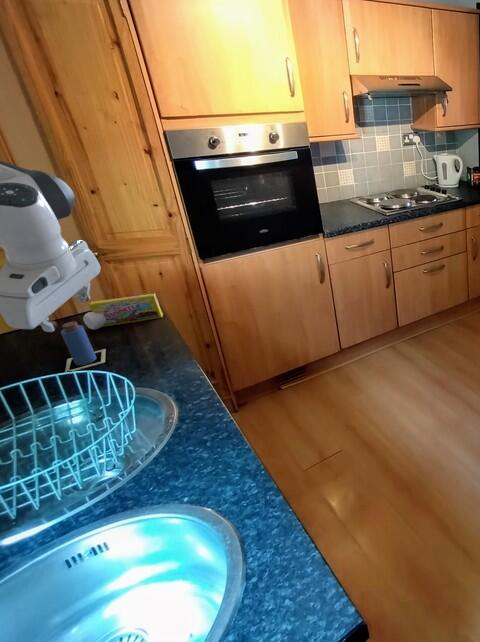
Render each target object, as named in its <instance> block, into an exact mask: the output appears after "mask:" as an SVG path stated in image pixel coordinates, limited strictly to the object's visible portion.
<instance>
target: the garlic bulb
mask: <svg viewBox="0 0 480 642" xmlns="http://www.w3.org/2000/svg"><path fill="white" fill-rule="evenodd" d="M82 319H83V322H84V324H85V326H86V327H87V328H88V329H91V330H93V331H94V330H99V329H100V328H103V327H102V326H103V325H104V323H105V322H106V318H105V317H104V316H103V315H102V314H96V313H94V312H92V311H88V312H86V313H85V314H84V315H83V316H82Z"/></svg>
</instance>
